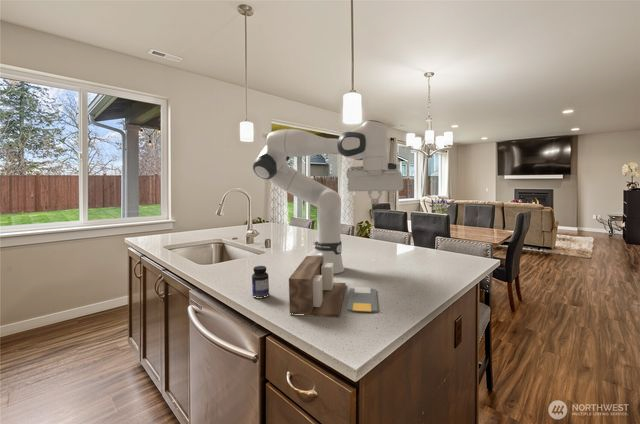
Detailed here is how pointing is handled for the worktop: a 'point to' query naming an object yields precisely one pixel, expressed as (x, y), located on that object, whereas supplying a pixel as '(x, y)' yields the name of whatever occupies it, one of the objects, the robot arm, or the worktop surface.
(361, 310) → the card
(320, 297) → the outer key
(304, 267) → the key panel
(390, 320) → the worktop surface
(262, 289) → the pill bottle
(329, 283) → the inner key
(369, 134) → the robot arm
